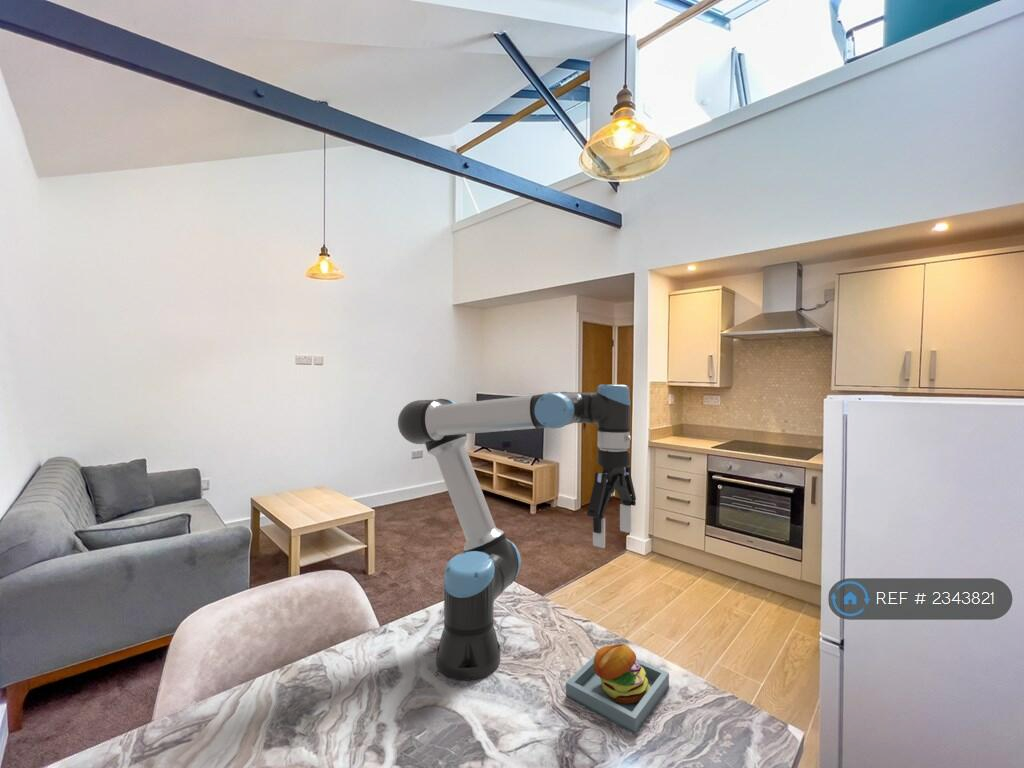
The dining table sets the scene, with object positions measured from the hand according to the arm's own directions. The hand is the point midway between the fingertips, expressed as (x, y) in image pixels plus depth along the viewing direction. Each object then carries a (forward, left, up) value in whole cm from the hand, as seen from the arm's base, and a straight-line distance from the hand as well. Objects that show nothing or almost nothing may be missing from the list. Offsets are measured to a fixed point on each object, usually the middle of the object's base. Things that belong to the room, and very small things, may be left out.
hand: (612, 538), depth 103 cm
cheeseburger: (+7, -9, -28) cm, 31 cm away
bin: (+6, -9, -29) cm, 31 cm away
